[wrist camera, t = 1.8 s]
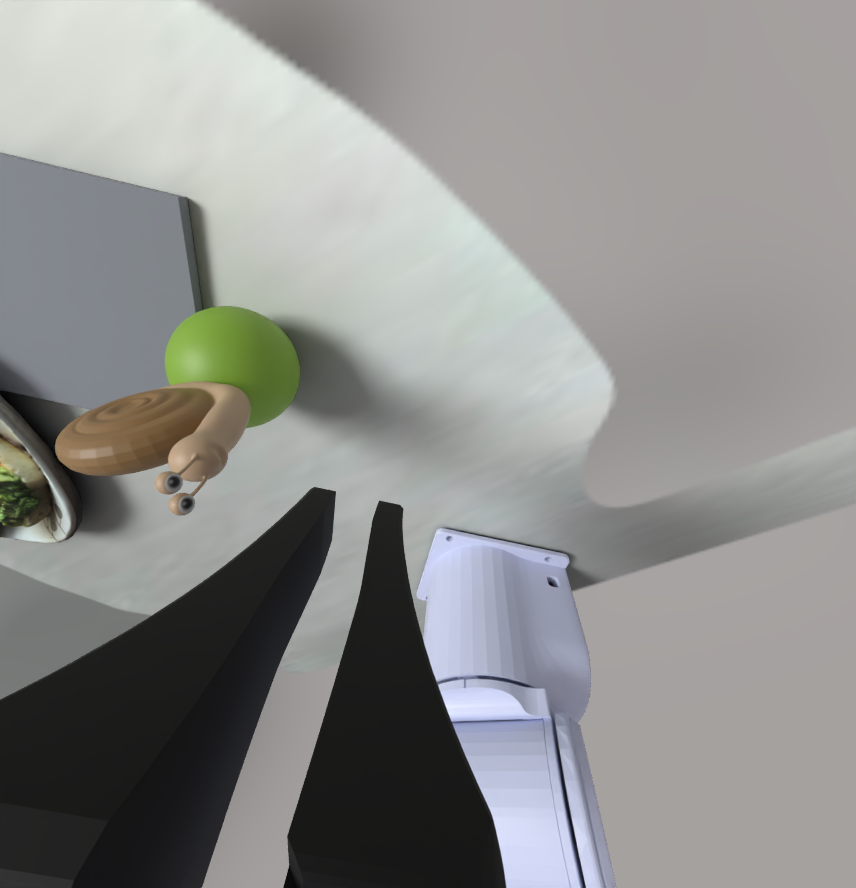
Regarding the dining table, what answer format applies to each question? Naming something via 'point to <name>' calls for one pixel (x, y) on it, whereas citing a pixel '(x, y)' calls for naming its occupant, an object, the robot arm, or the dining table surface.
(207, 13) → the dining table surface
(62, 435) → the snail figurine
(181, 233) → the slate mat
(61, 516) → the salad plate
